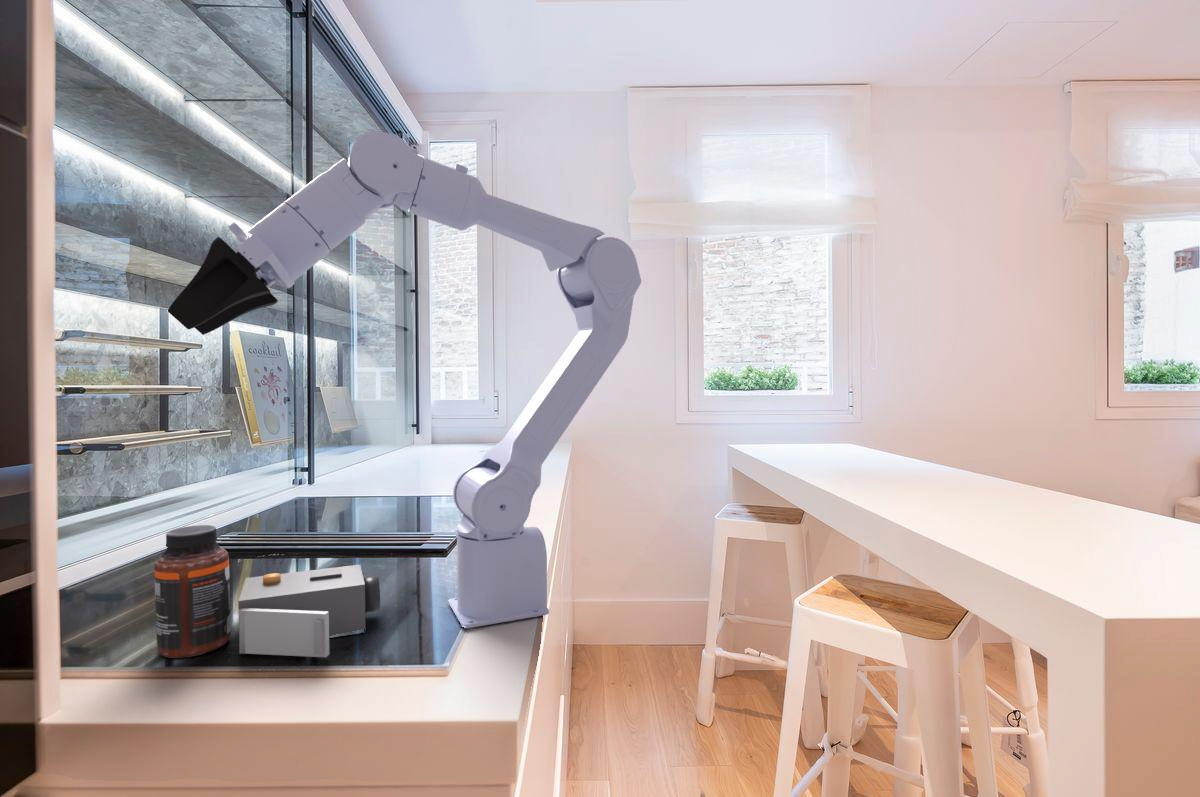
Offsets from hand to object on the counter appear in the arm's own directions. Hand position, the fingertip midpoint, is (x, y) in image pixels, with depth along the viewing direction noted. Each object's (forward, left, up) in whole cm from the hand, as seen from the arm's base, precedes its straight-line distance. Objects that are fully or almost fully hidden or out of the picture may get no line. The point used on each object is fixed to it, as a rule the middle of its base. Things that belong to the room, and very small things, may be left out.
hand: (186, 323), depth 55 cm
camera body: (-9, -3, -30) cm, 32 cm away
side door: (-7, +3, -30) cm, 31 cm away
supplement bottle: (0, -3, -31) cm, 31 cm away
